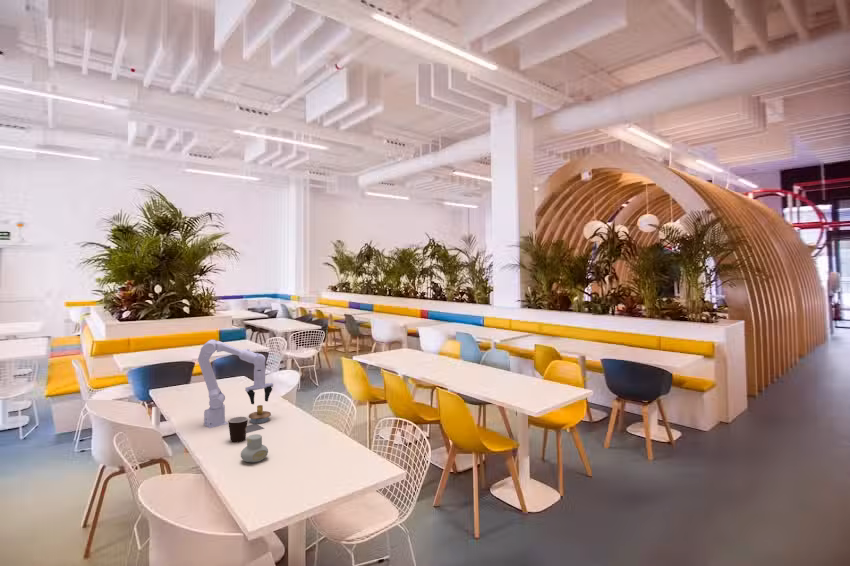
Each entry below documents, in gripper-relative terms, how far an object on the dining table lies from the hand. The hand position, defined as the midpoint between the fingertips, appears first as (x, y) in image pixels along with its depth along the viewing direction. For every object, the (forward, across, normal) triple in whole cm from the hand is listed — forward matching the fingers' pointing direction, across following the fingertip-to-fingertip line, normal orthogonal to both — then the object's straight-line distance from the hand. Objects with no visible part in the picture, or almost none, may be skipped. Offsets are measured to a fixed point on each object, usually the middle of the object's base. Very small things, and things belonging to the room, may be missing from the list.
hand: (259, 402), depth 236 cm
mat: (+10, -9, -9) cm, 16 cm away
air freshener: (+10, -23, -46) cm, 53 cm away
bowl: (+10, 0, 0) cm, 10 cm away
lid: (+7, 0, -1) cm, 7 cm away
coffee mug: (+10, -18, -19) cm, 28 cm away
